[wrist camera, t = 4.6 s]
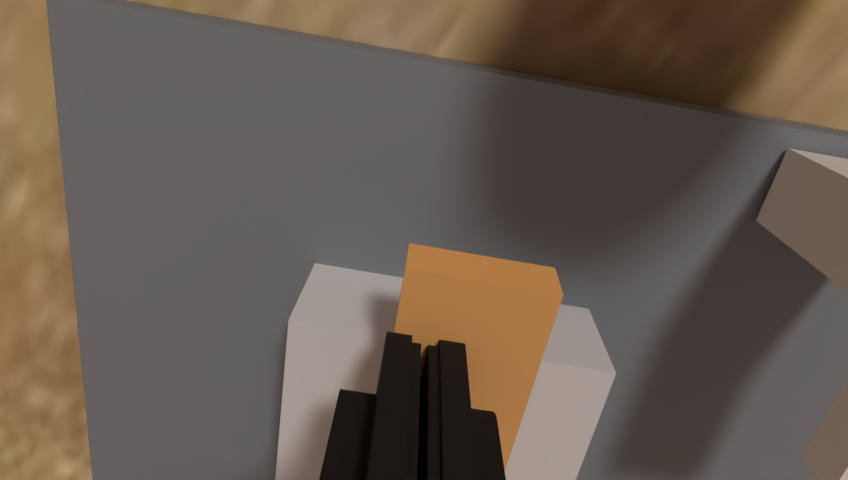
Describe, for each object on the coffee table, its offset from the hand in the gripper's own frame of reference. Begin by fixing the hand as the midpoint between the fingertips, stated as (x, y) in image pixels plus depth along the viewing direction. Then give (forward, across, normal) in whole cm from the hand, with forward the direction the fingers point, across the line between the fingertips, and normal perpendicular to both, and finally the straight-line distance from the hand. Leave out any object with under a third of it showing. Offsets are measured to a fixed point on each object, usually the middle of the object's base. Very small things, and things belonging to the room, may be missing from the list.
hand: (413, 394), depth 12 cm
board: (+6, -2, +3) cm, 7 cm away
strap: (+1, -1, +4) cm, 4 cm away
